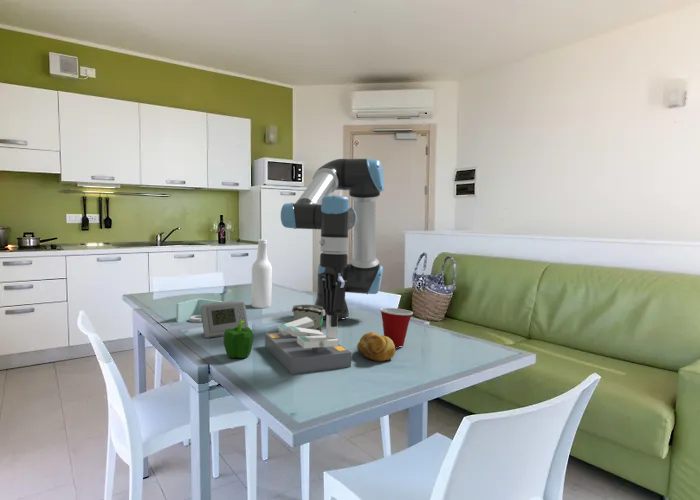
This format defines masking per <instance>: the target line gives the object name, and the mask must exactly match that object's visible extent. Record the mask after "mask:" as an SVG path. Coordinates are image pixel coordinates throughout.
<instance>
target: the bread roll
mask: <svg viewBox="0 0 700 500" xmlns="http://www.w3.org/2000/svg"><path fill="white" fill-rule="evenodd" d="M356 348H357V350H358V352H359V353H360V354H361V355H362V356H363V357H364V358H366V359H368V360H370V361H373V360H374V361H373V362H385V360H386V361H388V360H391V359H392V358H393V357H394V356H395V354H396V348H395V345H394V343H393V341H392V340H391V339H390V338H389V337H386V336H384V335H380V334H378V333H376V332H373V331H370V332H367V333H365V334H363V335H362V336H361V338H360V339H359V342H358V343H357V345H356Z"/></svg>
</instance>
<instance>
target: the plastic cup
mask: <svg viewBox="0 0 700 500" xmlns="http://www.w3.org/2000/svg"><path fill="white" fill-rule="evenodd" d="M379 311H380V313H381V319H382V328H383V329H382V331H383V336H386V337H389V338H390V339H391V340H392V341H393V343H394V345H395V347H399V346H403V347H404V345H405V339H406V336H407V332H408V328H409V323H410V321H411V318H412V315H413V314H414V312H413V311H411V310H407V309H403V308H396V307H381V308H379Z"/></svg>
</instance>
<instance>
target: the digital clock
mask: <svg viewBox="0 0 700 500" xmlns="http://www.w3.org/2000/svg"><path fill="white" fill-rule="evenodd" d="M201 316H202V319H201V320H202V322H201V323H202V329H203V336H204V338H206V339H209V338H221V337H224V333H225V330H226V329H233V328H235V327H238V324H239V322H241V321H245V323H244V324H242V327H241V328H245V327H249V322H248V321H249V320H248V315H247V308H246V303H245V301H244V300H235V301H233V300H231V301H223V302H221V303H212V304H206V305H202V306H201Z"/></svg>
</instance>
